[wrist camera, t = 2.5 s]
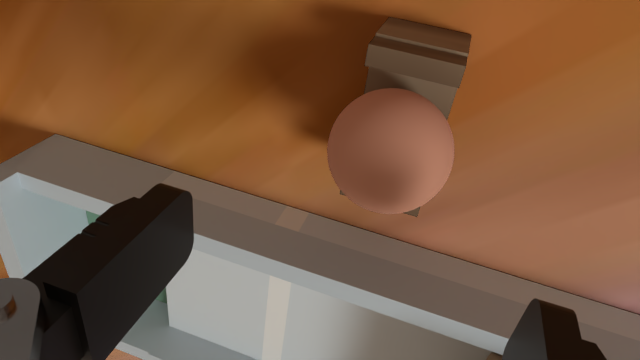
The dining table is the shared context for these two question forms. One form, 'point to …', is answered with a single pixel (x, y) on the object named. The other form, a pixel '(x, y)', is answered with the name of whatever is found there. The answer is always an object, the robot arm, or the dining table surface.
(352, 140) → the ball
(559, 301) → the lane
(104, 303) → the robot arm
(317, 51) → the dining table surface
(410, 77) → the brown wooden bracket block
